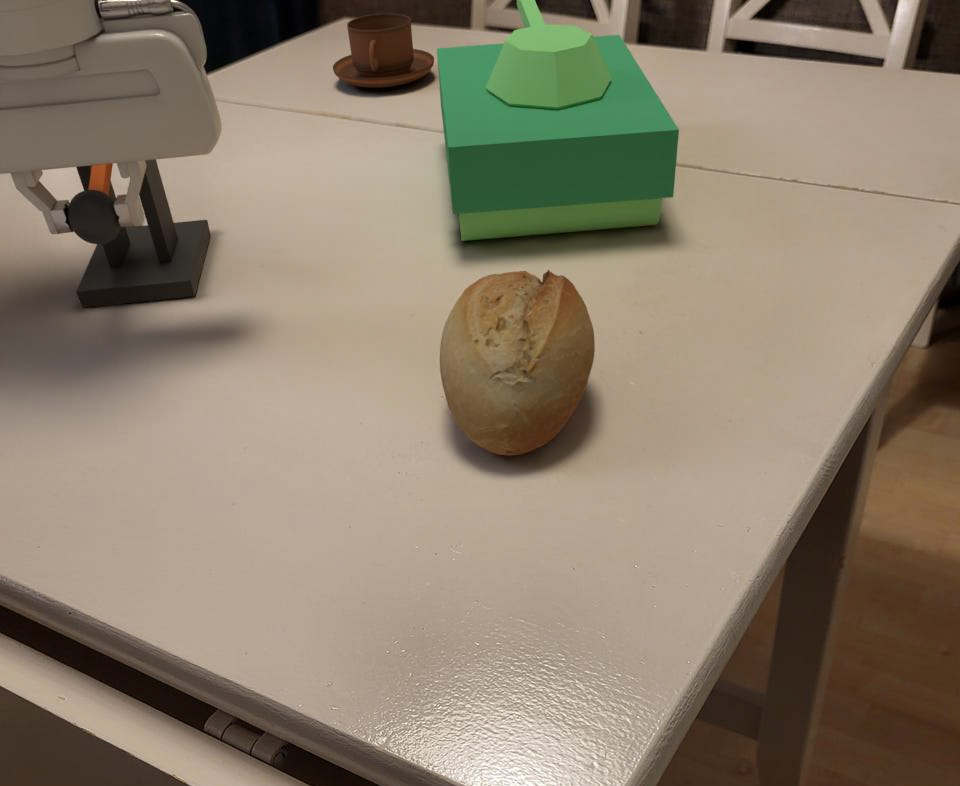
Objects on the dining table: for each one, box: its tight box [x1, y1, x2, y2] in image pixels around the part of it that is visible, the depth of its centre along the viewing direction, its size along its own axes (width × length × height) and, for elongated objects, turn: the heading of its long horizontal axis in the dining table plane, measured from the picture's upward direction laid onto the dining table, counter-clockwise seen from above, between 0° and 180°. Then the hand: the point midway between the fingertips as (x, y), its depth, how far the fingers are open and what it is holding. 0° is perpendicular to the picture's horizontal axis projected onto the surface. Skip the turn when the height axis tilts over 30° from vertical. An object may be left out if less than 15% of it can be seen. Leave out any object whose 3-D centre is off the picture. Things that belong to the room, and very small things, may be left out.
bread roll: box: [439, 269, 596, 457], centre depth 61 cm, size 10×15×8 cm, turn 178°
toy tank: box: [436, 0, 680, 242], centre depth 88 cm, size 18×12×35 cm
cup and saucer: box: [332, 12, 435, 89], centre depth 114 cm, size 12×12×6 cm
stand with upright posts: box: [75, 159, 211, 308], centre depth 77 cm, size 12×9×13 cm
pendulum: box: [68, 163, 121, 245], centre depth 71 cm, size 13×4×4 cm, turn 5°
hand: (98, 227), depth 69 cm, fingers closed on pendulum, 3 cm apart
